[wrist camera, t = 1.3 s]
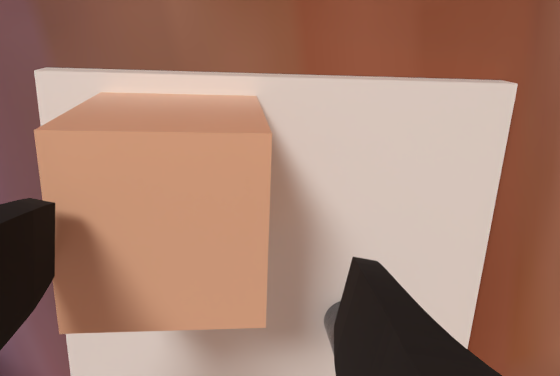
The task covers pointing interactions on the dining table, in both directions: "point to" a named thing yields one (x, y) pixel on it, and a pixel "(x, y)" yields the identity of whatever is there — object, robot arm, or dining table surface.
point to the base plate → (329, 207)
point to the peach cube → (159, 212)
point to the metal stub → (331, 322)
